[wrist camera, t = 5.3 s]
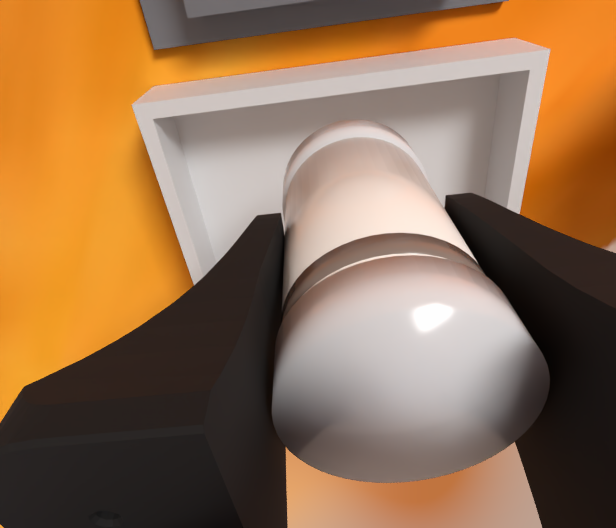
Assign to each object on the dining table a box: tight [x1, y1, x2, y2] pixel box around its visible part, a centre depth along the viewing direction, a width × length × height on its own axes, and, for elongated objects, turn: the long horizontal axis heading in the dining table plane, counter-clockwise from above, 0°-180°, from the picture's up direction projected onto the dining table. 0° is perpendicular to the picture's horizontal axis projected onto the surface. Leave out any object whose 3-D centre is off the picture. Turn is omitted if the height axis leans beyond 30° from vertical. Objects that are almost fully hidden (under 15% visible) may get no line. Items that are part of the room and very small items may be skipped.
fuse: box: [272, 119, 550, 483], centre depth 10 cm, size 4×4×8 cm
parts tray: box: [132, 38, 550, 285], centre depth 20 cm, size 15×13×3 cm
